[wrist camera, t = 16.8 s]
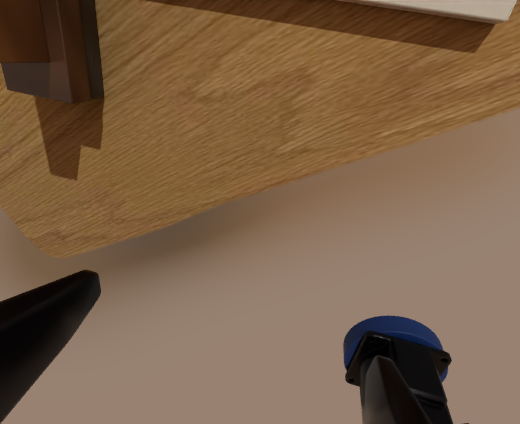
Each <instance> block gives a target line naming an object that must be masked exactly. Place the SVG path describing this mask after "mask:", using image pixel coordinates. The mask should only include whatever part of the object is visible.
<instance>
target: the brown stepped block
mask: <svg viewBox="0 0 520 424" xmlns="http://www.w3.org/2000/svg"><path fill="white" fill-rule="evenodd" d="M0 63H1V66H2V70H3V74H4V78H5V82H6V86H7V89H8V90H11V91H15V92H20V93H25V94H29V95H34V96H39V97H43V98H48V99H53V100H57V101H62V102H66V103H71V104H74V103H80V102H86V101H90V100H91V99H97V98H103V97H104V92H103V82H102V72H101V62H100V52H99V42H98V33H97V23H96V13H95V3H94V0H0Z"/></svg>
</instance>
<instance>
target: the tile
mask: <svg viewBox="0 0 520 424" xmlns="http://www.w3.org/2000/svg"><path fill="white" fill-rule="evenodd" d="M337 1H344V2H351V3H357V4H364V5H371V6H378V7H384V8H391V9H398V10H405V11H411V12H418V13H425V14H432V15H438V16H445V17H452V18H459V19H465V20H472V21H479V22H486V23H492V24H498V23H502V22H506V21H507V20H508V19H509V16H510V14H511V12H512V10H513V8H514V6H515V4H516V2H517V0H337Z"/></svg>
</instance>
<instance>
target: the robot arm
mask: <svg viewBox="0 0 520 424" xmlns="http://www.w3.org/2000/svg"><path fill="white" fill-rule="evenodd" d="M100 294H101V288H100V282H99V275H98V274H97V273H96V272H93V271H90V270H83V271H80V272H77V273H74V274H72V275H69V276H67V277H64V278H61V279H59V280H56V281H54V282H51V283H48V284H46V285H43V286H40V287H38V288H35V289H33V290H30V291H27V292H25V293H22V294H19V295H17V296H14V297H11V298H9V299H6V300H4V301H1V302H0V423H1V422H2V421H3V420H4V419H5V418H6V416H7V415H8V414H9V413H10V412H11V410H12V409H13V408H14V407H15V405H16V404H17V403H18V402H19V401H20V400H21V398H22V397H23V396H24V395H25V394H26V392H27V391H28V390H29V389H30V387H31V386H32V385H33V384H34V383H35V381H36V380H37V379H38V378H39V376H40V375H41V374H42V373H43V372H44V371H45V369H46V368H47V367H48V366H49V364H50V363H51V362H52V361H53V360H54V358H55V357H56V356H57V355H58V354H59V353H60V351H61V350H62V349H63V348H64V347H65V345H66V344H67V343H68V341H69V340H70V339H71V338H72V336H73V335H74V333H75V332H76V331H77V329H78V328H79V326H80V325H81V323H82V322H83V320H84V319H85V317H86V316H87V314H88V313H89V312H90V310H91V309H92V307H93V306H94V304H95V303H96V301H97V300H98V298H99V296H100ZM371 337H373V338H371ZM451 361H452V360H451V357H450V354H449V353H447V352H445V351H441V350H438V349H434V348H431V347H427V346H423V345H420V344H416V343H413V342H409V341H406V340H402V339H399V338H395V337H392V336H388V335H385V334H381V333H377V332H374V331H368V332H366V334H365V335H364V338H363V340H362V342H361V344H360V346H359V348H358V350H357V352H356V354H355V356H354V358H353V360H352V362H351V364H350V366H349V369H348V371H347V373H346V376H345V377H346V381H347V382H348V383H349V384H353V385H356V386H359V387H360V395H361V407H362V408H361V409H362V423H363V424H453V421H452V418H451V415H450V412H449V409H448V406H447V398H446V395H445V392H444V389H443V386H442V383H441V380H440V376H441V375H442V374H443V372H444V371H445V370H446V368H447V367H448V366H449V364H450V363H451ZM466 424H469V423H466Z"/></svg>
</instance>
